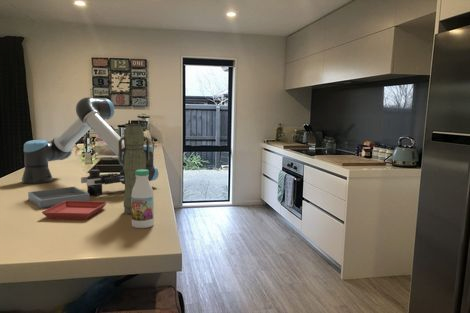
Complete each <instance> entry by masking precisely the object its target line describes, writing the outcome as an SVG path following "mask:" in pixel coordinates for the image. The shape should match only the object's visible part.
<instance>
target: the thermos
mask: <svg viewBox="0 0 470 313" xmlns="http://www.w3.org/2000/svg"><path fill="white" fill-rule="evenodd" d="M122 140H124V145H125V149H124V154H123V160H122ZM145 140H146V142H145ZM118 143H119V161H118V163H119V162H120V163H121V164H123V166H122V167H123V168H122V170H124V173H125V184H124V193H123V207H124V210H123V211H124V212H123V213H124V214H126V215H131V216H132V212H131V194H132V189H133V187H134V185H135V182H136V174H135V171H136V170H141V169H146V164H147V162H149V160H150V145H151V144H150V139H149V138H148V137H147V136H145V133H144V129H143V126H141V125H140V124H128V125H125V128H124V132H123V137H121V138H120V140H119V141H118ZM143 145H146V151H147V160H146V155H145V152H144V148H143ZM120 163H119V164H120Z"/></svg>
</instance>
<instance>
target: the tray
mask: <svg viewBox="0 0 470 313" xmlns="http://www.w3.org/2000/svg"><path fill="white" fill-rule="evenodd" d="M27 194H28V195H27V197H28V201H30V202H31V203H32V204H33V203H34V204H33V205H35V206H36V207H37V206H38V207H37V208H38V209H40V210H41V208H43V209H49V208H48V207H50V208H51V207H53V206H55V205H58V204H60V203H62V202H64V201H90V197H91V196H90V195H89V193H87V192H86V191H85V190H82V189H80V188H78V187H76V186H68V187H60V188H52V189H44V190H43V189H42V190H36V191H35V190H34V191H29V192H28V193H27Z"/></svg>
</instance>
